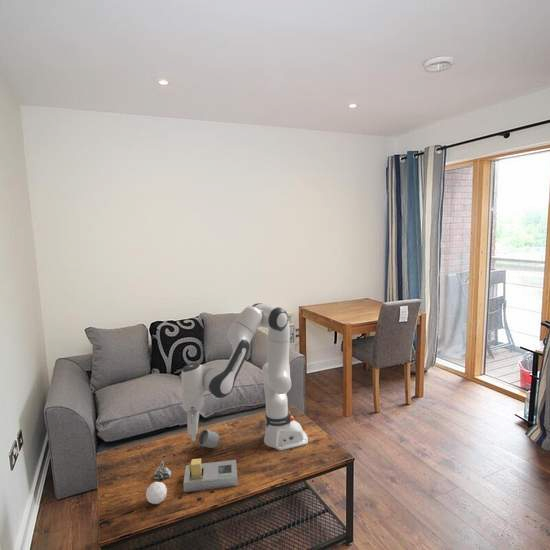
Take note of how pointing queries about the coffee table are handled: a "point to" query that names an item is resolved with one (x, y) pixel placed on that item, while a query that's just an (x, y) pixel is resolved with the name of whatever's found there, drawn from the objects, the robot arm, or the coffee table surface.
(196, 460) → the plug
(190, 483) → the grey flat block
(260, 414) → the coffee table surface
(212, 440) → the ceramic mug
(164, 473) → the house of cards
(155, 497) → the geometric ball
